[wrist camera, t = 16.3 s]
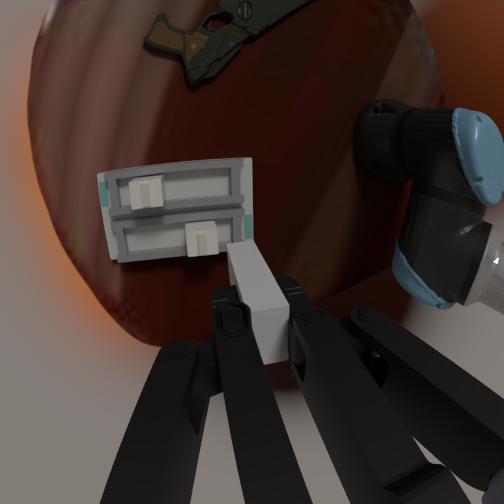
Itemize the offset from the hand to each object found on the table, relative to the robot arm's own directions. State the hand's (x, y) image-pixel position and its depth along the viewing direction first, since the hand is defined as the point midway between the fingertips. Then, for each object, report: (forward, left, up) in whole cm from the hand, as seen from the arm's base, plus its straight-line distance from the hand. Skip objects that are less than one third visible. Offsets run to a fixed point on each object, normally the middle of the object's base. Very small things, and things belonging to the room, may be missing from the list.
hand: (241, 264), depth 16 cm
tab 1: (+8, -1, -24) cm, 26 cm away
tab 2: (+2, +6, -24) cm, 25 cm away
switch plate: (+5, +2, -26) cm, 27 cm away
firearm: (-4, -29, -27) cm, 40 cm away
